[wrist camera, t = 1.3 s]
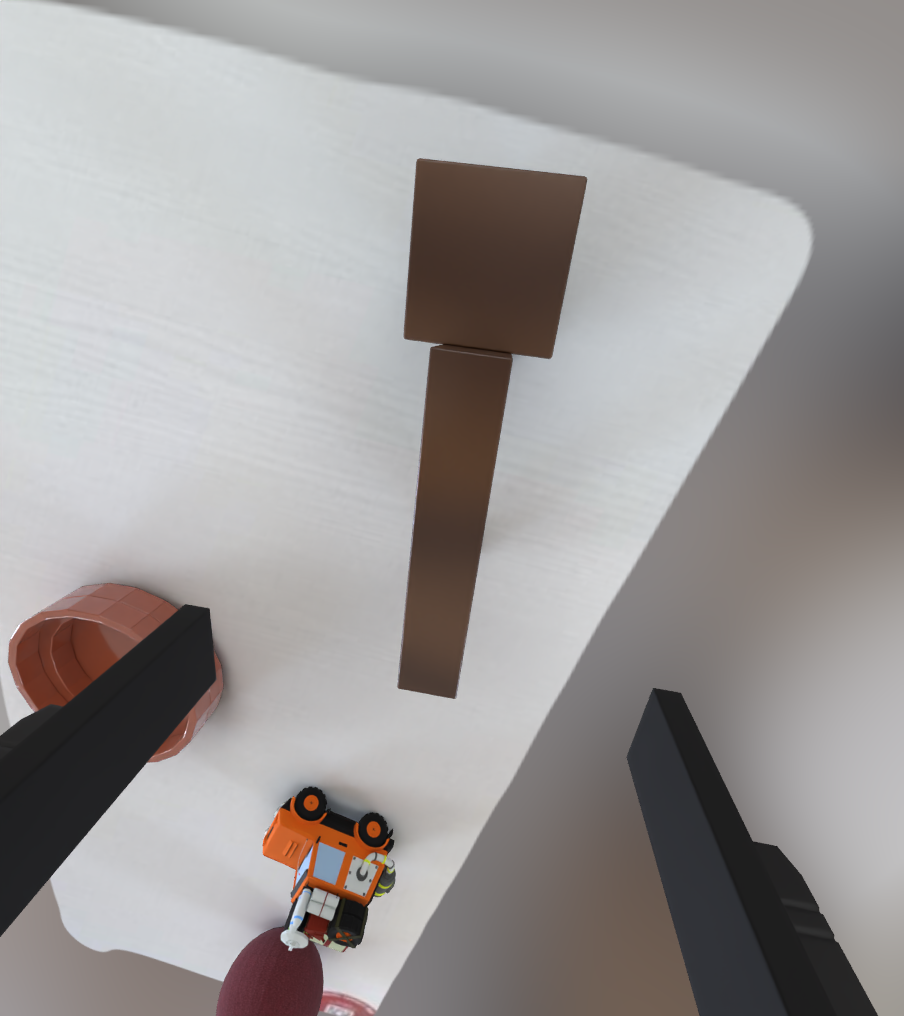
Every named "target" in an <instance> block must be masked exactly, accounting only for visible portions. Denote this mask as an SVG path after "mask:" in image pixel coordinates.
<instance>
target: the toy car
mask: <svg viewBox="0 0 904 1016" xmlns="http://www.w3.org/2000/svg"><path fill="white" fill-rule="evenodd" d="M322 792H323V791H321V790H319V789H317V788H316V787H315V788H313V787H308V788H304V789H303V790H302V791H300V792H299V794H298V795H297V797H296V798H295V797H294V796H293V798H290V799H289V800H288V801H286V802H284V803H283V804H282V806H281V807H280V808H278V809H277V810H276V812H275V814H274V816H275V819H274V821H273V823H272V824H271V826H270V827H269V828H268V829H267V830H266V832H265V833H264V836H265V838H264V840H263V845H262V846H263V855H264V856H266V857H268V858H271V859H273V860H275V861H278V862H280V863H283V864H285V865H287V866H289V867H291V868H293V869H295V870H296V873H295V877H294V878H295V880H294V886H293V891H292V892H291V898H292V899H291V902H292V903H293V905H292V908H291V910H290V913H289V916H288V919H287V922H286V924H285V927H284V930H283V932H282V933H281V941H282V942H284V943H285V944H286V945H288V946H289V949H288V950H289V951H292V949H293V948H304V947H306V946H307V945H308V940H311V941H313V942H316V943H318V944H321V945H324V946H326V947H329V948H331V949H334V950H337V951H339V952H344V951H345V950H346V949H347V948H348V947H352V948H356V946H357V945H359V944H360V943H361V942H362V939H363V935H364V929H365V928H364V927H365V925H366V922H367V916H368V908H367V906H368V905H369V904H370V903H371V901H372V899H373V897H374V896H375V897H381V896H382V895H383V894H384V893H385V892H386V893H389V892H390V890H391V889H392V888H393V887H394V884H395V876H396V873H395V869H394V867H395V866H394V861H393V860H391V859H389V858H388V857H387V855H388V853H389V852H390V851H391V849H392V848H393V845H394V840H392V839H390V837H391V836H392V834H393V829H392V830H391V831H390V832H389V834H388V833H387V831H388V827H387V825H386V824H387V823H386V821H384V819H383V817H382V816H380V815H379V814H377V813H376V814H375V813H370V814H366V815H365V816H364V817H362V819H361V820H360V821H359V823H358V822H356V821H353V820H351V819H348V818H346V817H344V816H341V815H339V814H336V813H334V812H332V811H330V809H331V808H330V809H328V810H327V811H325V809H326V804H327V800H326V799H325V797H326V796H325V794H323V793H322ZM329 811H330V812H329Z"/></svg>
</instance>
